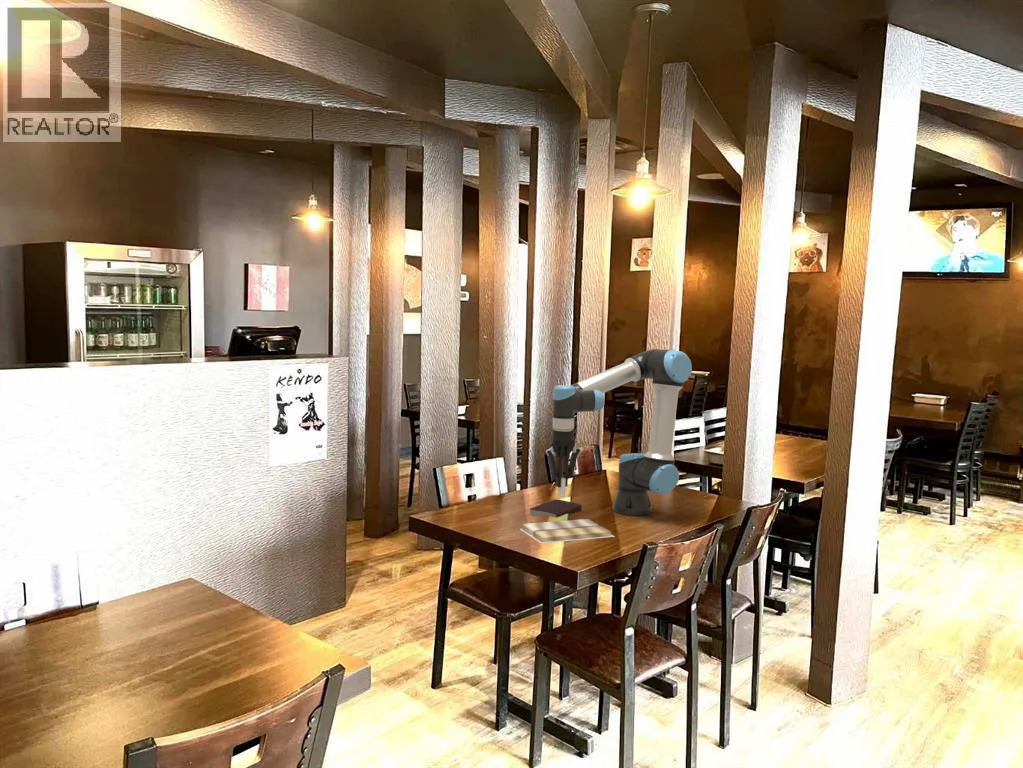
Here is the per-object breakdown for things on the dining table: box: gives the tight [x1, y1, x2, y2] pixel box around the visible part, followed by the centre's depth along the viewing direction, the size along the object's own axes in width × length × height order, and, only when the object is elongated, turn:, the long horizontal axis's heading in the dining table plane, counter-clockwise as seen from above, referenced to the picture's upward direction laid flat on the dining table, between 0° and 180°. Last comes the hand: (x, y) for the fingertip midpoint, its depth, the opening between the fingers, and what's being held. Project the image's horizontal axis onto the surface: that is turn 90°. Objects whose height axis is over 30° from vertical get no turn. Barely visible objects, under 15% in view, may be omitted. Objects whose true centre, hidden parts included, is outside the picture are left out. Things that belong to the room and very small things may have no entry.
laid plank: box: [533, 525, 612, 542], centre depth 257 cm, size 26×8×2 cm, turn 112°
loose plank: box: [521, 518, 600, 535], centre depth 265 cm, size 26×8×2 cm, turn 112°
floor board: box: [519, 528, 616, 544], centre depth 261 cm, size 28×18×1 cm, turn 112°
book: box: [529, 499, 582, 518], centre depth 293 cm, size 12×19×3 cm, turn 145°
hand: (561, 495), depth 265 cm, fingers closed
